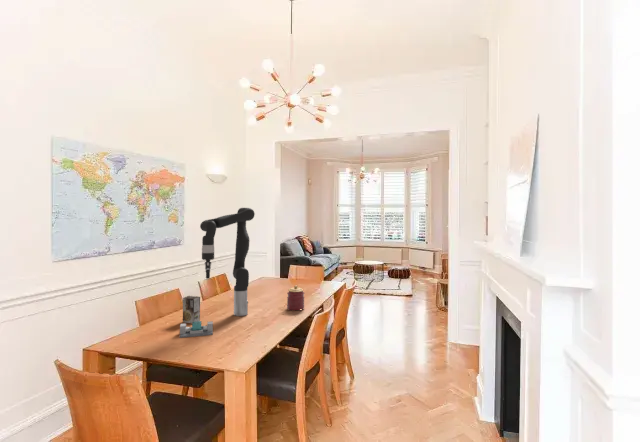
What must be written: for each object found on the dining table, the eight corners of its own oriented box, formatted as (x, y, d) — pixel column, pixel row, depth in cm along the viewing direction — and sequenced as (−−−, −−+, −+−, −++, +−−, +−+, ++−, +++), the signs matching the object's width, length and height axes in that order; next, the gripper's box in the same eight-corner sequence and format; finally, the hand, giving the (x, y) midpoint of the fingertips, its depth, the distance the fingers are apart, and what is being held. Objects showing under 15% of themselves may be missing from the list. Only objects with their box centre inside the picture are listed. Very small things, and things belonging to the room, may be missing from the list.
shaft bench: (212, 328, 209) (212, 319, 209) (212, 334, 198) (212, 325, 198) (181, 330, 203) (181, 322, 203) (179, 337, 192) (179, 328, 192)
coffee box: (200, 321, 223) (200, 296, 222) (193, 324, 217) (194, 298, 216) (189, 319, 226) (189, 295, 225) (182, 322, 220) (182, 297, 219)
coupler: (201, 329, 204) (201, 321, 204) (201, 332, 199) (201, 323, 199) (192, 330, 202) (192, 321, 202) (192, 332, 197) (192, 324, 197)
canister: (283, 309, 252) (284, 286, 251) (291, 305, 264) (292, 283, 263) (299, 311, 247) (300, 287, 246) (307, 307, 259) (307, 284, 259)
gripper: (214, 253, 210) (214, 279, 211) (214, 250, 224) (213, 275, 224) (201, 253, 208) (201, 279, 208) (202, 250, 221) (201, 275, 222)
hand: (207, 277), depth 216 cm, fingers open, 8 cm apart
